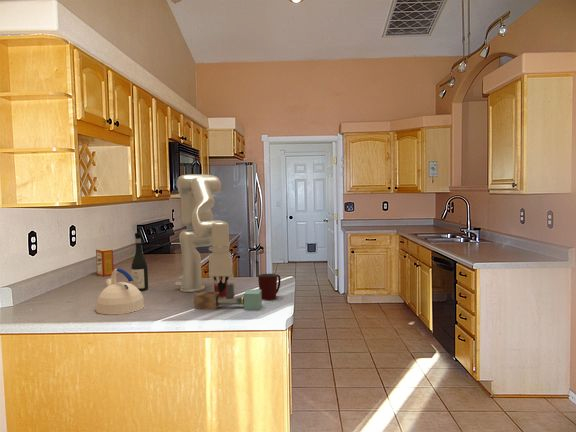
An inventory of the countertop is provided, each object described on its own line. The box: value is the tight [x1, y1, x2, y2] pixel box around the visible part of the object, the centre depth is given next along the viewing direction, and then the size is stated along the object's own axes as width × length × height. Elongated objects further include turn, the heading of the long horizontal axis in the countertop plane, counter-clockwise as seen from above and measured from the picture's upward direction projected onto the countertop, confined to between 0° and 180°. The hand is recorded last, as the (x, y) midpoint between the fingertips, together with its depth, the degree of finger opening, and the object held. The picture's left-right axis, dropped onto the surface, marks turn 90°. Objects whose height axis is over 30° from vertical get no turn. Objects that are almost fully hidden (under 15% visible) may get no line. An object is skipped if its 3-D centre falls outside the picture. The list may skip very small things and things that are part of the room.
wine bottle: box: [130, 232, 149, 292], centre depth 236 cm, size 8×8×30 cm
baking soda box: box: [95, 248, 115, 277], centre depth 280 cm, size 10×6×16 cm
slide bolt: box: [193, 282, 244, 306], centre depth 199 cm, size 22×3×9 cm, turn 85°
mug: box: [257, 273, 282, 301], centre depth 214 cm, size 12×9×11 cm
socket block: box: [243, 289, 263, 311], centre depth 198 cm, size 6×8×7 cm
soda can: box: [213, 277, 230, 297], centre depth 218 cm, size 7×7×12 cm
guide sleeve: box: [193, 291, 220, 310], centre depth 200 cm, size 10×6×6 cm
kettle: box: [95, 268, 145, 316], centre depth 201 cm, size 20×21×18 cm
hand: (221, 291), depth 199 cm, fingers closed
